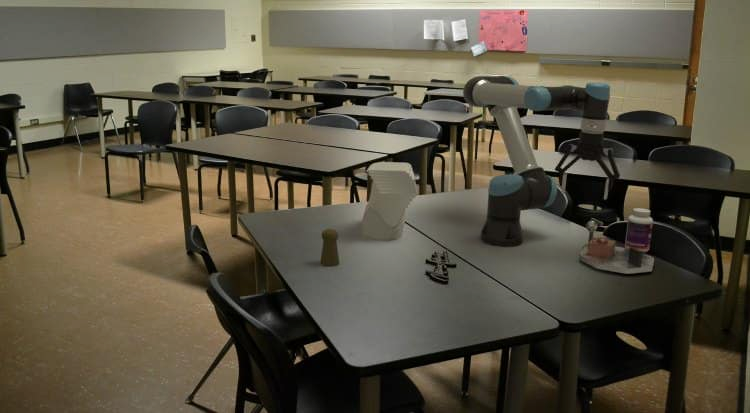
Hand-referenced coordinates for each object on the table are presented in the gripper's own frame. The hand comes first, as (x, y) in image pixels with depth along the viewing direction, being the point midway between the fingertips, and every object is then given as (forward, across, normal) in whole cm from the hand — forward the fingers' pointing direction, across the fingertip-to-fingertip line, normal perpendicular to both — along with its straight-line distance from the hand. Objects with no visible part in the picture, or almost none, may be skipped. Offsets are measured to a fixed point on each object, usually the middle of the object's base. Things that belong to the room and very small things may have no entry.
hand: (583, 195), depth 208 cm
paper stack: (+22, -65, -10) cm, 69 cm away
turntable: (+20, +13, -3) cm, 24 cm away
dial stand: (+21, +4, +8) cm, 22 cm away
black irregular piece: (+22, -36, -36) cm, 55 cm away
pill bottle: (+21, +18, +16) cm, 32 cm away
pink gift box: (+18, +8, -3) cm, 20 cm away
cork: (+22, -68, -50) cm, 87 cm away
